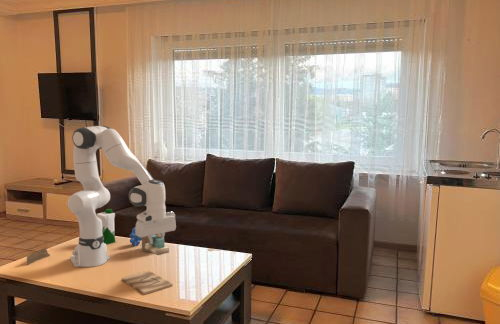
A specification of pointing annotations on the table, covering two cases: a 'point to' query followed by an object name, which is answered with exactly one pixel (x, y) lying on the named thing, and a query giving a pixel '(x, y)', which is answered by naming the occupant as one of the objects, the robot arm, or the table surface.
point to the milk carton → (107, 225)
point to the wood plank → (37, 256)
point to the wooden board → (146, 282)
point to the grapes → (134, 238)
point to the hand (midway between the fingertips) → (156, 242)
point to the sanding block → (157, 246)
